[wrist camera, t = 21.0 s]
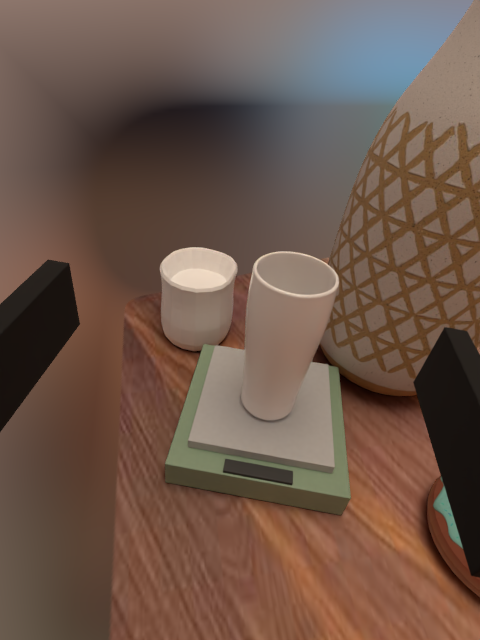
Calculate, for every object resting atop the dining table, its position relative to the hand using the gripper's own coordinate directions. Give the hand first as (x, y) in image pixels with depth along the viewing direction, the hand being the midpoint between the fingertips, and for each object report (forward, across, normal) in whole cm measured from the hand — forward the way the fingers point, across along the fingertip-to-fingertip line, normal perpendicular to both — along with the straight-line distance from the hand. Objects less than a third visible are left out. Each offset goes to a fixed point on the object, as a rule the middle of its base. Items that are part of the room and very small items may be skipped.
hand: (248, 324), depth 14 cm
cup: (+29, -7, -26) cm, 39 cm away
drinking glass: (+15, +3, -21) cm, 26 cm away
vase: (+29, +17, -25) cm, 42 cm away
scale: (+15, +3, -25) cm, 30 cm away
